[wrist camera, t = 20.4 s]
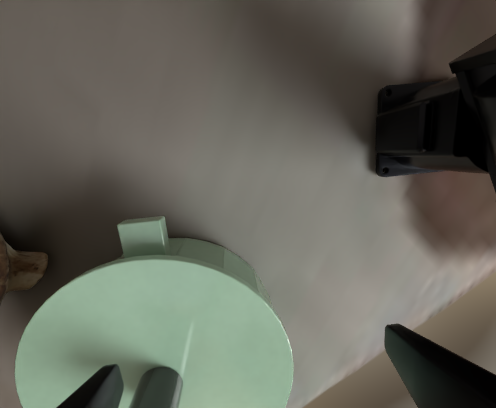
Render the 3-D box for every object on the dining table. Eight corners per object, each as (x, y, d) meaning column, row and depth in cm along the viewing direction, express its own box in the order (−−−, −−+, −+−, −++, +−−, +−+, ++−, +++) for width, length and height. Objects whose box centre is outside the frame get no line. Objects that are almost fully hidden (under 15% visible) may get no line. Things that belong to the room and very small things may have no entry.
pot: (260, 194, 18) (273, 210, 13) (278, 402, 22) (292, 476, 17) (57, 216, 17) (-19, 242, 12) (118, 427, 21) (82, 513, 16)
